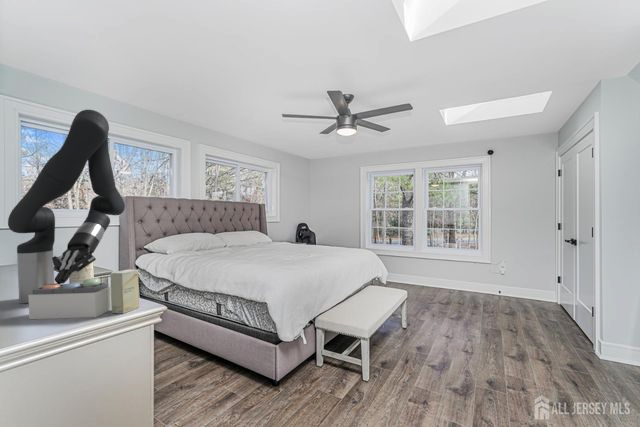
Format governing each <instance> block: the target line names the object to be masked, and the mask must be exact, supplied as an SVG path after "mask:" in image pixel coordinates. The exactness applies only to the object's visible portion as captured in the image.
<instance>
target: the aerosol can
mask: <svg viewBox="0 0 640 427" xmlns="http://www.w3.org/2000/svg"><path fill="white" fill-rule="evenodd" d="M92 255H93V256H94V252H93V253H92ZM81 265H82V264H81ZM81 265H80V266H81ZM80 266H79V267H80ZM94 272H95V271H94V261H93V262H92V263H90V264H89V265H88V266H86V267H85V268H83V269H82V270H80V271H78V272H77V271H74V273H72V274H71V275H70V277H69V278H68V281H69V282H68V284H69V283H80V284H83V280H86V279H92V278H95V276H94V275H95V274H94Z"/></svg>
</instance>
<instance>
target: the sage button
mask: <svg viewBox="0 0 640 427" xmlns="http://www.w3.org/2000/svg"><path fill="white" fill-rule="evenodd" d="M100 283H101V278H100V277H94V278H92V279H86V280H83V288H91V287H96V286H99V285H100Z"/></svg>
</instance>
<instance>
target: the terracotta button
mask: <svg viewBox="0 0 640 427" xmlns="http://www.w3.org/2000/svg"><path fill="white" fill-rule="evenodd" d="M56 287H60V284H58V283H57V282H54V284H47V285H43V286H42V289H53V288H56Z"/></svg>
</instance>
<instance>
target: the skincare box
mask: <svg viewBox="0 0 640 427" xmlns="http://www.w3.org/2000/svg"><path fill="white" fill-rule="evenodd" d="M109 274H110V287H111V308H112V309H111V313H112V314H126V313H128V312H130V311H133V310H136V309H139V308H140V289H139V288H140V287H139V269H130V268H129V269H124V270H119V271H114V272H110V273H109Z"/></svg>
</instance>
